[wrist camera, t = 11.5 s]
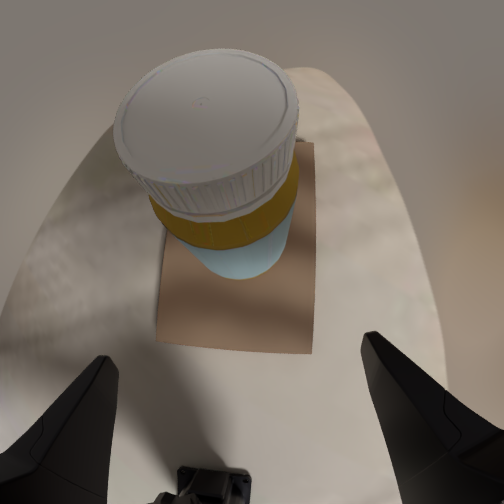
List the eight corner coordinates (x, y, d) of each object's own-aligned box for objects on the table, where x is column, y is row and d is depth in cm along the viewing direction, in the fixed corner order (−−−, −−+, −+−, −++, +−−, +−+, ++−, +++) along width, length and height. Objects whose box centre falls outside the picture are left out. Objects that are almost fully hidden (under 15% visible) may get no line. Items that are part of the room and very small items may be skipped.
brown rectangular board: (308, 352, 22) (311, 354, 20) (162, 340, 22) (155, 341, 21) (311, 151, 26) (313, 142, 24) (187, 148, 27) (184, 140, 25)
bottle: (179, 238, 23) (74, 125, 8) (241, 180, 24) (213, 26, 9) (240, 300, 21) (184, 255, 7) (304, 236, 22) (356, 101, 8)
